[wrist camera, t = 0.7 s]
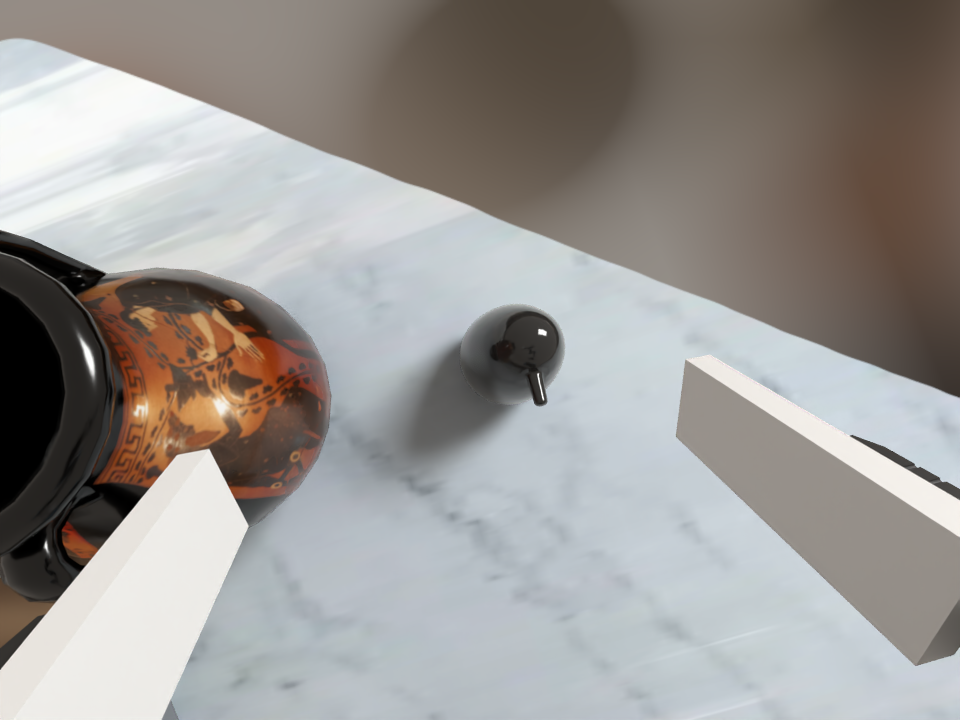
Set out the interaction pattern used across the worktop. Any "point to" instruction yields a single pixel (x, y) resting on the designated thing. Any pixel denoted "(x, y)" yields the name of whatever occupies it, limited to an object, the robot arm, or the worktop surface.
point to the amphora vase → (138, 401)
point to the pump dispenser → (512, 354)
